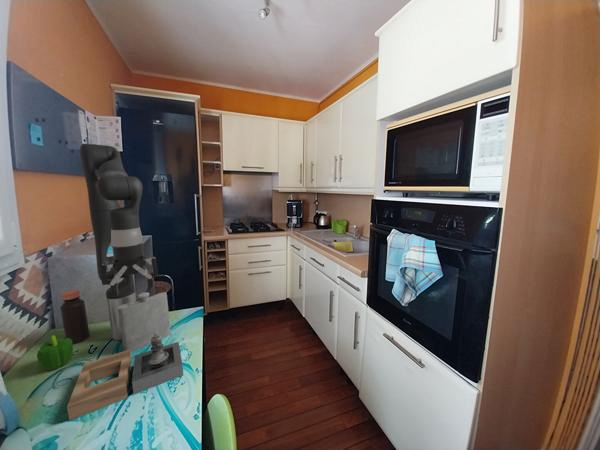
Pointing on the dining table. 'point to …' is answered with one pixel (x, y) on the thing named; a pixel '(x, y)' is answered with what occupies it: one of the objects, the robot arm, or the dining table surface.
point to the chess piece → (157, 354)
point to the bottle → (74, 316)
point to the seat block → (158, 376)
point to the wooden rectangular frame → (100, 384)
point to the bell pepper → (55, 353)
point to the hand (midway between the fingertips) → (133, 292)
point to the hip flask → (144, 320)
